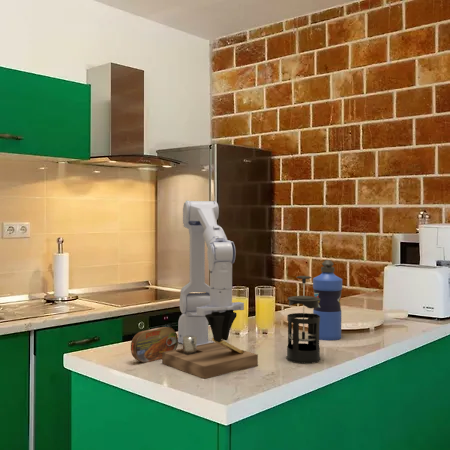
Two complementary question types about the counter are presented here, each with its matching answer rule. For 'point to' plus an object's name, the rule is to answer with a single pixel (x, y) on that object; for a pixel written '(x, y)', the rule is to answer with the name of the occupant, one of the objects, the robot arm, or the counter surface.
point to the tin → (153, 343)
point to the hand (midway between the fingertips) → (220, 340)
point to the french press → (301, 350)
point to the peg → (189, 344)
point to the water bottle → (328, 302)
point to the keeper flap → (229, 346)
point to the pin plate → (209, 360)
